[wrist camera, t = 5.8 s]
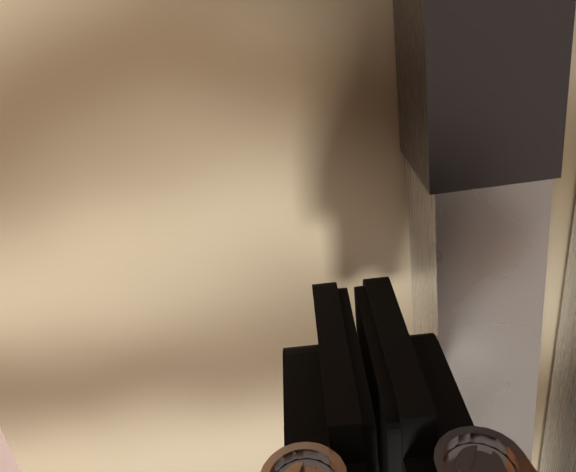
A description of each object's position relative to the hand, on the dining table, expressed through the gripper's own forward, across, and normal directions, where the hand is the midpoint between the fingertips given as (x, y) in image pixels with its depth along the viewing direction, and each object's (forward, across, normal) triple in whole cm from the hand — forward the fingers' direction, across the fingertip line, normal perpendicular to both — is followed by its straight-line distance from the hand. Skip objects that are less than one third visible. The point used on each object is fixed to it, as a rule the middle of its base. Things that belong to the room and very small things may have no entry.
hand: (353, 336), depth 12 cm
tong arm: (+1, -4, +3) cm, 5 cm away
